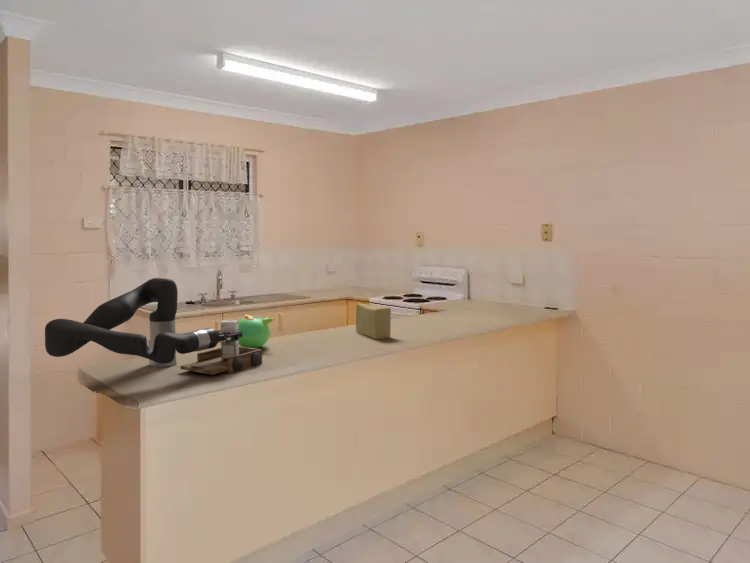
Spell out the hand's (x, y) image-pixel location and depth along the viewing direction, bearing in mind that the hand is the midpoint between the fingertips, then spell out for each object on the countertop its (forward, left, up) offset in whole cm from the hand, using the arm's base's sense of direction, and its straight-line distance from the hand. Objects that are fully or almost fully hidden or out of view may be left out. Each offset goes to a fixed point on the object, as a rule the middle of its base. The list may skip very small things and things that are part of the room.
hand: (233, 333), depth 221 cm
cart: (0, -2, -12) cm, 13 cm away
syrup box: (0, -2, -9) cm, 10 cm away
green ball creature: (-15, +28, -13) cm, 34 cm away
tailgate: (0, -15, -11) cm, 19 cm away
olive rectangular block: (+14, +80, -13) cm, 83 cm away
